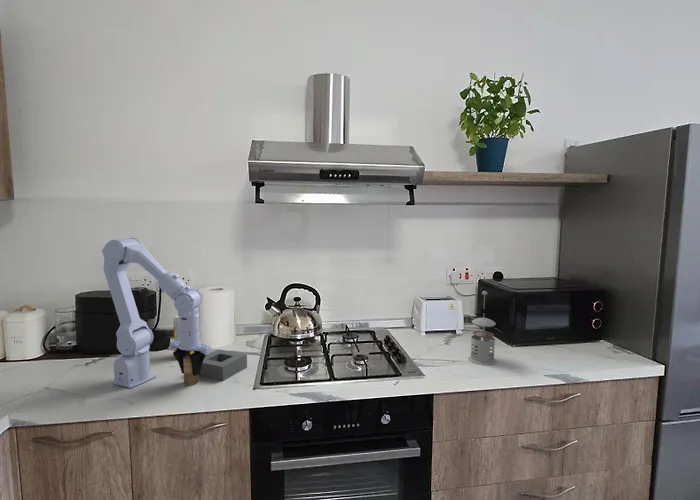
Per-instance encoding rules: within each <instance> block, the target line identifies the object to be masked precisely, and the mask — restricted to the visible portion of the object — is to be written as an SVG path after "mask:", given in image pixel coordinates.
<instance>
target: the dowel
mask: <svg viewBox="0 0 700 500" xmlns="http://www.w3.org/2000/svg"><path fill="white" fill-rule="evenodd" d="M183 365H184V374H183V384H184V386H195V385H197V384H198V383H199V376H198V375H196V376H193V371H192V363H191V360H190V358H189V356H186V357H184V358H183Z"/></svg>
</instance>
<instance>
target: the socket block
mask: <svg viewBox="0 0 700 500" xmlns="http://www.w3.org/2000/svg"><path fill="white" fill-rule="evenodd" d="M247 368H248V354H247V353H246V354H245V353H242V352H236V351H230V350H224V349H223V350H222V349H217V350H214V351H211V353H209V354H207V355H206V356H205V358H204V360H203V363H202V366H201V371H200V374H198V377H203V378H207V379H212V380H217V381H222V382H223V381H226V380H227V379H229V378H230V377H233V376H234V375H236V374H237V373H241V371H244V370H245V369H247Z"/></svg>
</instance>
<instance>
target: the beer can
mask: <svg viewBox="0 0 700 500" xmlns="http://www.w3.org/2000/svg"><path fill="white" fill-rule="evenodd" d="M174 340H175V341H180V338H179V316H178V314H177V315H175V316H174V318H173V341H174ZM176 350H177V349H176V348H174V351H176ZM192 353H194V351H191V352H190V354H192Z"/></svg>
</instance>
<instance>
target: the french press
mask: <svg viewBox="0 0 700 500" xmlns="http://www.w3.org/2000/svg"><path fill="white" fill-rule="evenodd" d="M481 295H483V308H485V307H486V306H485V302H486V296H487V295H488V292H487V291H486V290H483V291H481ZM471 323H472V324H473V325H475V326H477V327H478V330H475V331H474V330H473V332H472V335H471V339H470V341H471V343H470V344H471V345H470V346H471V347H470V356H469V357H468V358H467V360H468V361H469V362H470V363H472V364H475V365H478V366H479V365H480V366H493V365H496V364H497V360H496V359H495V345H496V344H495V343H496V341H495V339H496V338H495V337H494V336H495V334H494V333H493V332H490V331H486V330H485V328H491V327H495V326H496V322H495V321H494V320H492V319H490V318H487V317H485V314H483V317H477V318H474V319H473V320H471ZM481 328H482V330H481Z"/></svg>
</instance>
